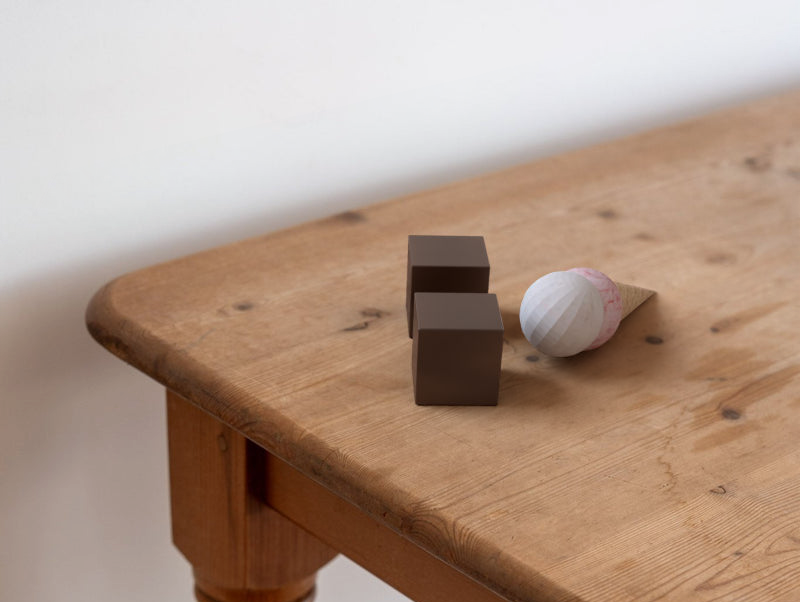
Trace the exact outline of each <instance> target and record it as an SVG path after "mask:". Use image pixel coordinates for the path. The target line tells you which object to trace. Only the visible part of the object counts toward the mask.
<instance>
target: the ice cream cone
mask: <svg viewBox="0 0 800 602" xmlns="http://www.w3.org/2000/svg"><path fill="white" fill-rule="evenodd" d="M656 292H657V291H656V290H653V289H649V288H644V287H640V286H636V285H631V284H629V283H628V284H627V283H623V282H619V281H615V280H612V279H611V278H610V276H608V275H607V274H605V273H603V272H602V271H600V270H598V269H595V268H592V267H591V268H590V267H573V268H569V269H567V270H565V271H564V270H558V271H552V272H550V273H547V274H545V275H543V276H541V277H540V278H537V280H536V281H534V282H533V283H532V284H531V285H530V286H529V287H528V289H527V290H526V291H525V293H524V295H523V298H522V301H521V304H520V308H519V323H520V327H521V331H522V333H523V335H524V337H525V338H526V340H527V341H528V342H529V344H530V345H531V346H532V347H533V348H534V349H536V350H537V351H539V352H540V353H542V354H545V355H548V356H551V357H555V358H556V357H557V358H562V357H564V358H565V357H572V356H574V355H577V354H579V353H581V352H585V351H591V350H595V349H596V348H599V347H601V346H602V345H603V344H605V343H606V342H607V341H609V340H610V339H611V338H612V337H613V336H614V335H615V333H616V331H617V330H618V328H619V326H620V322H621V321H623V319H624V318H625V317H627V316H628V315H629V314H631V313H632V312H633V311H634V310H636V309H637V308H638V307H639V306H641V305H642V304H643V303H644V302H645V301H646V300H648V299H649V298H650V297H651V296H652V295H653V294H655V293H656Z"/></svg>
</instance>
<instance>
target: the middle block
mask: <svg viewBox="0 0 800 602" xmlns="http://www.w3.org/2000/svg"><path fill="white" fill-rule="evenodd" d="M406 260H407V262H406V287H405V289H406V290H405V309H406V310H405V311H406V320H407V330H408V331H407V332H408V337H409V338H413V317H414V294H415V293H416V292H420V293H489V287H490V275H491V264H490V260H489V256H488V250H487V246H486V242H485V238H484V236H483V235H441V234H439V235H437V234H436V235H434V234H433V235H432V234H408V236H407V259H406Z"/></svg>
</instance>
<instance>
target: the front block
mask: <svg viewBox="0 0 800 602" xmlns="http://www.w3.org/2000/svg"><path fill="white" fill-rule="evenodd" d="M504 337H505V328H504V323H503V319H502V313H501V309H500V304H499V301H498V297H497V293H495V292H494V293H490V292H488V293H420V292H416V293H415V294H414V317H413V337H412V344H411V345H412V346H411V348H412V349H411V373H412V374H411V375H412V385H413V394H414V404H415V405H425V406H426V405H432V406H433V405H434V406H435V405H436V406H437V405H439V406H453V405H454V406H455V405H456V406H498V404H499V394H500V385H501V384H500V383H501V373H502V361H503V350H504V349H503V348H504V339H505V338H504Z"/></svg>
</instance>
